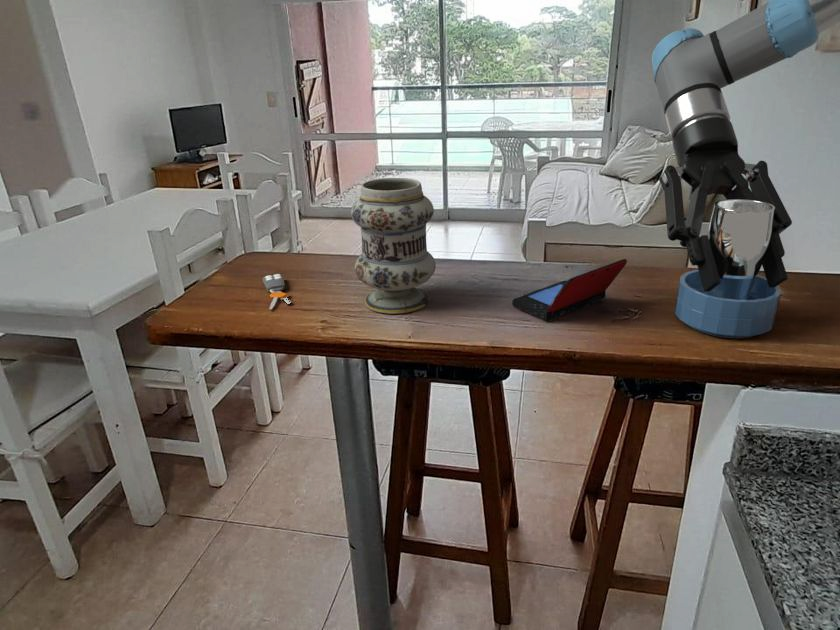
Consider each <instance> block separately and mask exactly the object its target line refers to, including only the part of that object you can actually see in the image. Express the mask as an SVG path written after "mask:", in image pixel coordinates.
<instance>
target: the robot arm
mask: <svg viewBox="0 0 840 630" xmlns="http://www.w3.org/2000/svg"><path fill="white" fill-rule="evenodd" d="M837 24H840V0H769V1H768V2H766V3H764V4H762V5H761V6H759V7H757V8H755V9H753V10H751V11H750V12H748V13H746V14H744V15H742V16H740V17H738V18H737V19H735V20H733V21H731V22H729V23H728V24H725V25H724V26H723V27H720V28H719V29H717V30H714V31H712V32H709V33H707V34H705V35H704V33H703V32H702V31H701V30H699V29H696V28H693V27H688V28H685V29H683V30H678V29H677V30H675V31H673V32H671V33H669V34H667V35H666V36H665V37H663V38H662V39H661V40H660V41H659V42H658V43H657V44H656V46H655V48H654V50H653V52H652V55H651V65H652V70H653V76H654V78H653V80H654V83H655V85H656V89H657V92H658V96H659V99H660V103H661V107H662V110H663V114H664V117H665V120H666V125H667V128H668V132H669V134H670V136H669V137H670V138H671V141H672V148H673V152H674V154H675V155H674V156H675V159H676V162H677V167H675V166H673V165H669V164H668V165H667V166H666V168H665V169H664V170H663V172H662V173H661V175H660V176H659V177H658V181H659V183H660V185H661V187H662V189H663V192H664V206H665V218H666V230H667V231H666V232H667V238H668V240H670V241H672V242H673V241H676V240H677V241H679V245H680V246H681V247H682V248H686V252H687V254H688V255H687V256H688V259H689V261H690V262H689V263H690V264H691V265H692V266H696V267H697V270H699V274H700V278H701V282H702V285H703V289H704V292H706V291H711V290H712V289H714V288H715V287H716V286H717V285H719V284H720V283H721V281H720V278H719V274H718V270H717V267H716V263H715V260H714V256H713V252H712V249H711V245H710V242H709V238H708V235H707V234H703V235H701V236H700V234H701V233H702V225H703V222H704V221H703V220H704V215H705V209H706V204H707V199H708V196H711V195H722V196H723V197H724V198H725V199H748V200H757V201H762V202H766V203H769V204H772V205H773V206H774V207H775V210H774V216H773V225H772V232H771V237H770V242H769V246H768V250H767V253H766V256H765V259H764V261H763V264H762V266H761V267H762V269H763V272H764V273H763V274H764V277H765V278H766V279H767V282H768V286H769V288H770V287H776V286H778V285H779V286H780V285H781V284H782V283H783V282H785V281H787V280H788V279H789V277H788V273H787V271H786V270H787V269H786V267H785V265H784V261H783V259H782V258H783V257H785V253H786V251H785V248H784V245H783V242H782V239H781V236H780V234H781V233H783V232H784V231H786V230H787V229H788V228H789V227H790V226H791V225H792V224H793V220H792V219H791V217H790V215H789V213H788V211H787V209H786V206H785V205H784V203H783V201H782V198H781V197H780V195H779V193H778V191H777V189H776V188H775V186H774V185H775V184H773V182H772V180H771V177H770V176H769V169H768V168H769V167H768V163H767V162H766V161H765V160H759V161H758V162H757V163H755V164H754V163H747V162H745V161H744V159H743V158H742V157H741V155H740V154H739V141H738V138H737V136H736V135H737V134H736V132H735V129H734V125H733V123H732V122H731V115H730V112H729V109H728V106H727V103H726V100H725V98H724V94H723V91H722V89H723V88H726V87H727V86H730V85H732V84H735V82H738V81H739V80H742V79H745V78H747V77H749V76H751V75H754V74H755V73H757V72H760V71H762V70H764V69H767V68H768V67H770V66H773V65H776V64H777V63H780V62H781V61H782V62H783V61H784V60H785V59H790V58H793V57H794V56H796V55H797V54H799V53H801V52H803V51H804V50H806V49H808V48H810V47H812V46H814V45H815V44H816V43H817V41H818V40H819V36H820V35H819V34H821V33H823V32H825V31H826V30H829V29H831V28H832V27H835V26H836V25H837ZM682 180H683V181H684V182H685V183H687V184H688V185H689V186H690V192H689V197H688V201H689V203H688V209H687V213H686V218H685V209H684V198H683V197H684V196H683V185H682Z"/></svg>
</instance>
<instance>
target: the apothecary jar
mask: <svg viewBox="0 0 840 630" xmlns="http://www.w3.org/2000/svg"><path fill="white" fill-rule="evenodd" d="M434 212H435V208H434V205H433V202H432V201H431V200H430V199H429V197H427V196H426V195H424V191H423V187H422V182H420V180H418V179H414V178H409V177H381V178H375V179H371V180H370V179H369V180H367V181H364V182H363V183H362V184H361V186H360V195H359V198H358V199H357V200H355V202H353V204H352V206H351V209H350V216H351V219H352V221H353V222H354V223H355V225H357V226H358V227H360V235H361V253H360V254H359V255H358V257H357V258H356V260H355V263H354V273H355V275H356V278H358V279H359V281H361V282H362V283H363V284H365V285H366V286H368V287H370V288H373V289H375V290H373V291H372V292H371V293H369V294H368V295H367V296H366V298H365V299H364V303H365V304H364V305H365V306H366V307H367V309H368V310H370V311H373V312H375V313H379V314H385V315H386V314H387V315H401V314H410V313H413V312H416V311H419V310H422V309H423V308H425V307H426V303H428V302H430V295H429V294H428V293H427V292H426V291H424V290H423V289H419V288H417V287H419V286H421V285H423V284H425V283H426V282H427V281H429V280H430V279H431V278H432V276H433V275H434V274H435V271H436V267H437V264H436V260H435V258H434V256H433V255H432V254H431V253H430V252H429V251H428V246H427V224H428V223H429V222H430V221H431V219H432V218H433V216H434Z"/></svg>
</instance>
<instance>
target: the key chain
mask: <svg viewBox="0 0 840 630" xmlns="http://www.w3.org/2000/svg"><path fill="white" fill-rule="evenodd" d="M263 283H264V284H263ZM262 284H263V285H265V286H264V288H265V287H266V288H265V289H266V291H267V292H268V291H269V293H270V294H269V297H270V298H271V299H272V301H271V303H270V305H269V308H268V310H269V311H272V310H273V309H274V307H275V305H276V303H277V302H278V300H280V301H282V299H284V301H285V302H286V303H287V304H290V303H291V302H292V301H291V300H290V299H289V298H287V297H286V296H288V295H286V294H287V293H285V292H282V290H283V291H284V290H285V289H286V284H285V278H284V275H283V274H280V273H274V274H269V275H264V276H263V277H262ZM282 297H283V298H282ZM284 297H286V298H284ZM279 298H280V299H279ZM286 299H287V300H286ZM288 299H289V300H288ZM289 301H290V302H289ZM286 303H284V305H287V304H286ZM270 309H271V310H270Z"/></svg>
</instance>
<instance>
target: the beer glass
mask: <svg viewBox="0 0 840 630" xmlns="http://www.w3.org/2000/svg"><path fill="white" fill-rule="evenodd" d="M774 210H775V207H774V206H773V205H772V204H769V203H766V202H762V201H757V200H748V199H726V198H725V199H720V200H716V201H715V202H714V204H713V209H712V213H711V217H710V220H709V224H708V229H707V233H706V235H708V238H709V242H710V245H711V249H712V252H713V256H714V260H715V263H716V267H717V270H718V274H719V278H720V281H721V283H720V284H719V285H717V286H716V287H715V288H714V289H712V290H711V291H706V292H704V294H707V295H711V296H715V297H720V298H726V299H735V300H749V298H750V293H751V290H752V287H753V284H754V282H755V280H756V277H757V275H759V273H760V271H761V268H762V267H763V266H762V264H763V261H764V259H765V256H766V253H767V250H768V246H769V242H770V237H771V232H772V225H773V216H774Z"/></svg>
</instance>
